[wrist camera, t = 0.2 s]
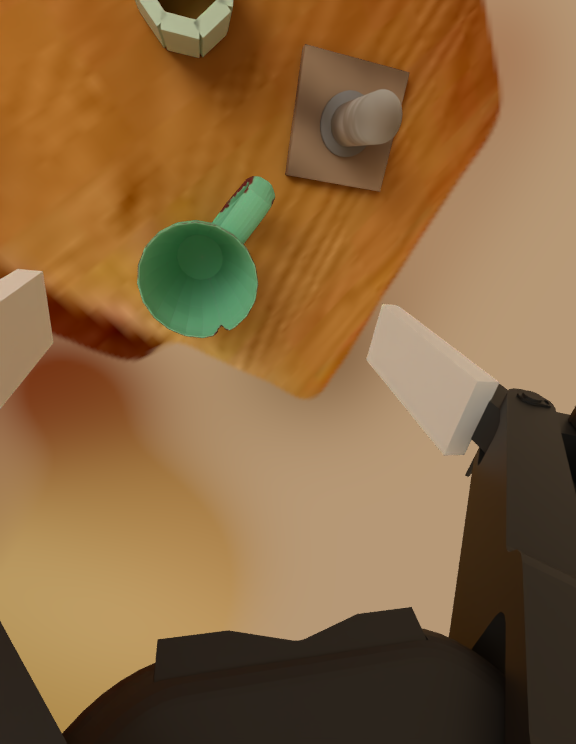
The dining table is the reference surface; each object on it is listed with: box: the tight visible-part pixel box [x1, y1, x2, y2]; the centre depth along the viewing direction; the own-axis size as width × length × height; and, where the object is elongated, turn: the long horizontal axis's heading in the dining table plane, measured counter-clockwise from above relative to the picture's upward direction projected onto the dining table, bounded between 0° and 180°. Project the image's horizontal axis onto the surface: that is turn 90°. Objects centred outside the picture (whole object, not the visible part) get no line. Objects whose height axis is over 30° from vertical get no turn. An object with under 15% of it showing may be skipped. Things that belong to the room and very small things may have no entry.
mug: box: [137, 176, 275, 338], centre depth 35 cm, size 15×10×10 cm
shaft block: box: [285, 44, 409, 192], centre depth 32 cm, size 10×10×9 cm
